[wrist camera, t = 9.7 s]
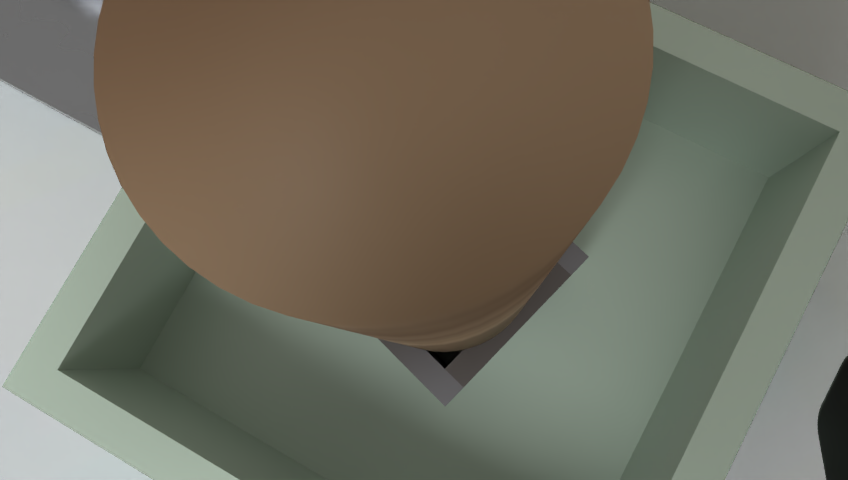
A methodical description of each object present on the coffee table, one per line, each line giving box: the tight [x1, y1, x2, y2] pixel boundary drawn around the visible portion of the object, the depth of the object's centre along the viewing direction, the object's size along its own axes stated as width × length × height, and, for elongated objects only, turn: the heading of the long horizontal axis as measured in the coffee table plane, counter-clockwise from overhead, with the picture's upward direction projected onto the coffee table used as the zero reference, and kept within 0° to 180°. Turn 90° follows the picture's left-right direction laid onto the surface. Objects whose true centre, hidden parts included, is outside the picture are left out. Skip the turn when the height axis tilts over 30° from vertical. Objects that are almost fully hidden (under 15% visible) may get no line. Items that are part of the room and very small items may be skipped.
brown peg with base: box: [94, 0, 653, 406], centre depth 11 cm, size 4×4×13 cm
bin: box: [2, 2, 848, 480], centre depth 16 cm, size 13×13×4 cm
